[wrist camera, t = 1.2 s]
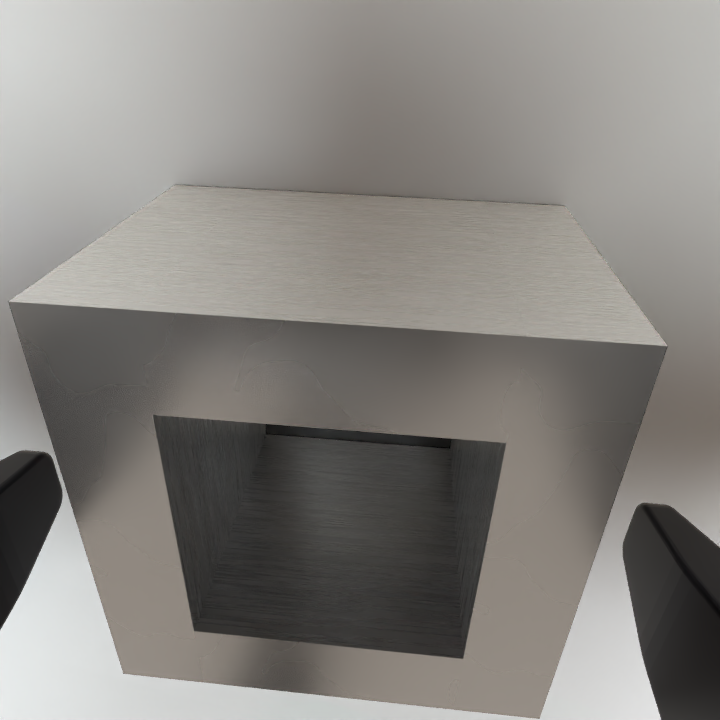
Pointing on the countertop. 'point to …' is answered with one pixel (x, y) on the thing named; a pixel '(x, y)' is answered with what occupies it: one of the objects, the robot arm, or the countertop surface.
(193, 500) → the grey square hollow block
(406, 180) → the countertop surface
